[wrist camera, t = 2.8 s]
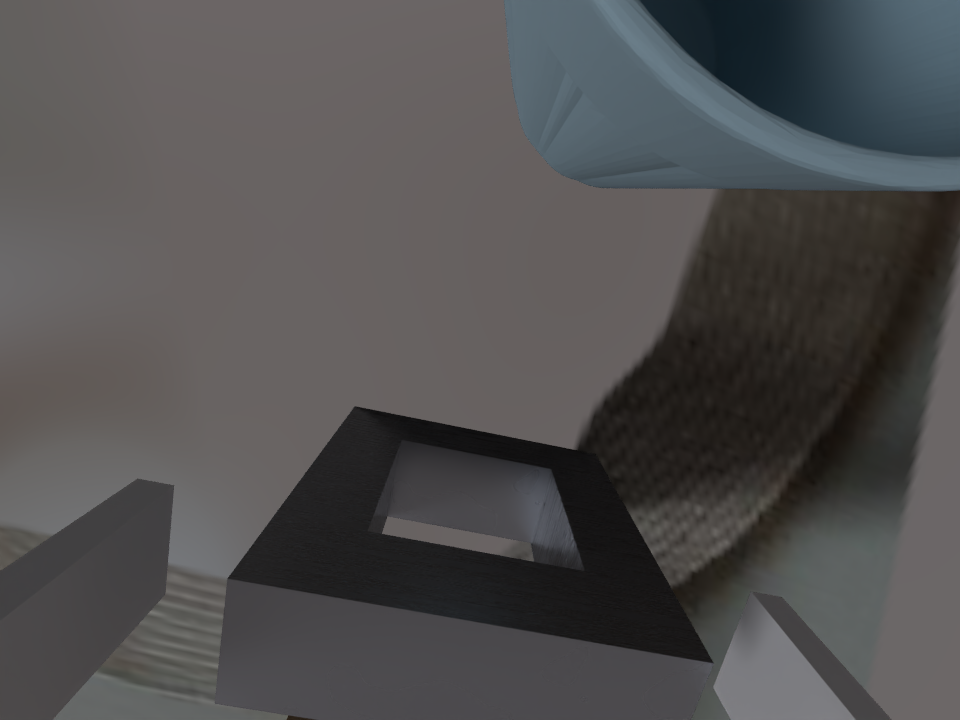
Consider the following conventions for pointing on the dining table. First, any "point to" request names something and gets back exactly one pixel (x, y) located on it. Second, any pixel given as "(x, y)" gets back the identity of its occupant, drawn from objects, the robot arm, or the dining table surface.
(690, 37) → the cup
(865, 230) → the dining table surface
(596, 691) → the link
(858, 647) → the dining table surface
